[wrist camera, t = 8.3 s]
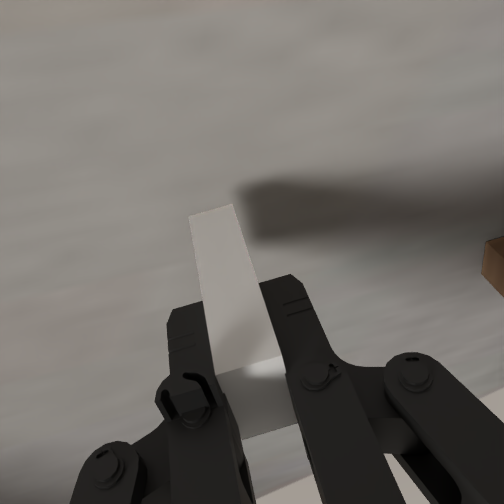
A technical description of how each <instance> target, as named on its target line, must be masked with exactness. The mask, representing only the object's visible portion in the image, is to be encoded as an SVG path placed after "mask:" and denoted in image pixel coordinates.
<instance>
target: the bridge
mask: <svg viewBox="0 0 504 504" xmlns="http://www.w3.org/2000/svg"><path fill="white" fill-rule="evenodd" d="M481 274H482V275H483V276H484V277H485V278H486V279H487V280H488V281H489V283H490V284H491V285H492V286H493V287H494V288H495V289H496V290H497V291H498V292H499V293H500V294H501V295H502V296H503V297H504V237H501V238H497V239H494V240H490V241H487V242H486V245H485V252H484V259H483V266H482V272H481Z"/></svg>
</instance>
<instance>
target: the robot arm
mask: <svg viewBox="0 0 504 504" xmlns="http://www.w3.org/2000/svg"><path fill="white" fill-rule="evenodd" d="M189 222H190V228H191V234H192V240H193V246H194V252H195V258H196V264H197V270H198V276H199V281H200V287H201V293H202V299H203V301H200V302H197V303H193V304H190V305H186V306H183V307H179V308H176V309H173V310H172V312H171V315H170V317H169V320H168V322H167V338H168V351H169V366H170V375H169V376H168V377H167V378H166V379H165V380H163V381H162V383H161V385H160V386H159V388H158V390H157V391H156V397H155V403H156V405H157V407H158V408H159V410H160V412H161V414H162V415H163V417H164V421H163V422H162V423H161V424H160V425H159V426H158V427H157V428H156V429H155V430H153V431H152V432H151V433H149V434H148V435H146V436H145V437H143V438H142V439H140V440H139V441H137V442H135V443H134V444H132V445H130V444H128V443H127V442H121V441H115V442H111V443H107V444H105V445H103V446H101V447H100V448H98V449H97V450H95V451H94V452H93V453H92V454H91V455H90V456H89V458H88V459H87V460H86V461H85V463H84V465H83V467H82V469H81V471H80V473H79V476H78V479H77V482H76V485H75V488H74V491H73V495H72V498H71V501H70V504H256V500H255V495H254V491H253V486H252V481H251V476H250V471H249V466H248V462H247V459H246V457H245V455H244V452H243V447H242V442H241V438H242V440H244V439H247V438H250V437H254V436H257V435H260V434H264V433H267V432H270V431H273V430H277V429H280V428H283V427H287V426H290V425H293V424H296V423H298V424H299V427H300V431H301V434H302V438H303V442H304V446H305V450H306V454H307V457H308V460H309V462H310V465H311V468H312V471H313V474H314V478H315V481H316V484H317V487H318V490H319V494H320V497H321V500H322V503H323V504H406V503H405V500H404V498H403V496H402V494H401V491H400V490H399V487H398V485H397V483H396V481H395V478H394V476H393V474H392V472H391V470H390V467H389V465H388V463H387V460H386V458H385V456H384V454H383V453H388V454H392V455H393V456H394V457H395V458H396V460H397V461H398V462H399V464H400V465H401V466H402V468H403V469H404V470H405V471H406V473H407V474H408V475H409V476H410V478H411V479H412V480H413V482H414V483H415V484H416V485H417V487H418V488H419V489H420V491H421V492H422V493H423V495H424V496H425V497H426V498H427V500H428V501H429V502H430V504H504V423H503V422H502V421H501V420H500V419H499V418H498V417H497V416H496V415H495V414H493V413H492V412H491V411H490V410H489V409H488V408H487V407H486V406H485V405H484V404H483V403H482V402H481V401H480V400H479V399H478V398H476V397H475V396H474V395H473V394H472V393H471V392H470V391H469V390H468V389H467V388H466V387H465V386H464V385H463V384H462V383H461V382H459V381H458V380H457V379H456V378H455V377H454V376H453V375H452V374H451V373H450V372H449V371H448V370H447V369H446V368H445V367H444V366H442V365H441V364H440V363H439V362H438V361H436V360H435V359H433V358H432V357H430V356H428V355H425V354H421V353H418V352H407V353H403V354H400V355H397V356H394V357H393V358H392V359H391V360H390V361H389V362H387V364H386V367H361V366H355V365H352V364H348V363H347V362H345V361H343V360H341V359H340V358H339V357H338V356H337V355H336V354H335V353H334V351H333V350H332V348H331V346H330V344H329V342H328V339H327V337H326V335H325V333H324V330H323V328H322V326H321V324H320V321H319V319H318V317H317V315H316V312H315V310H314V309H313V306H312V303H311V301H310V299H309V297H308V295H307V292H306V290H305V288H304V286H303V283H301V282H300V281H299V280H298V279H296V278H295V277H294V276H292V275H291V274H289V275H285V276H282V277H278V278H275V279H272V280H268V281H265V282H261V283H258V281H257V278H256V275H255V272H254V268H253V265H252V262H251V259H250V256H249V253H248V250H247V247H246V244H245V241H244V238H243V235H242V232H241V229H240V226H239V223H238V219H237V216H236V213H235V210H234V207H233V204H230V205H226V206H223V207H219V208H216V209H212V210H209V211H205V212H202V213H198V214H195V215H191V216H189ZM240 436H241V437H240Z"/></svg>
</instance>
